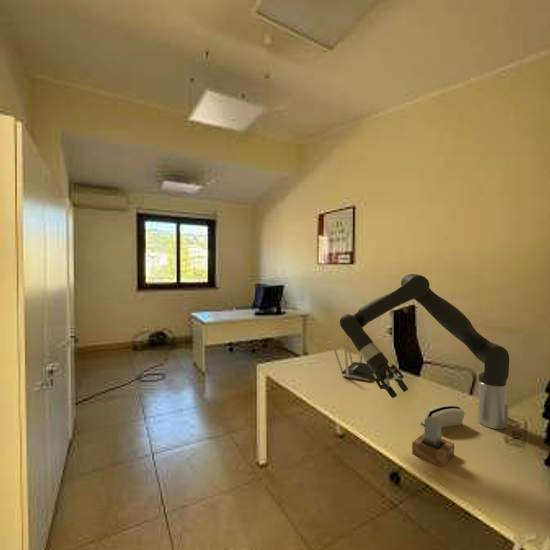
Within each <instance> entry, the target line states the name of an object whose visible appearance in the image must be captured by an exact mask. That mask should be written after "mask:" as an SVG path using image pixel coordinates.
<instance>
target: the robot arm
mask: <svg viewBox="0 0 550 550" xmlns="http://www.w3.org/2000/svg"><path fill="white" fill-rule="evenodd" d="M412 300H414V301H416V302H417V303H419V304H420V305H421V306H422V307H423V308H424V309H425V310H426V311H427V312H428V313H429V314H430V316H432V318H434V320H436V322H437V323H439V324H440V326H442V327H443V328H444V329H445V330H446V331H448V332H449V333H450V334H451V335H452V336H454V338H456V339H458V341H460V342H462V344H464V345H465V346H466V347H467V349H468V350H469V351H471V353H472V354H473V356H475V358H477V360H479V361H480V363H483V364H484V369H483V372H480V373H479V374H478V413H477V414H478V416H477V417H478V423H479V424H481V425H482V426H484V427H487V428H489V429H493V430H503V429H509V404H508V403H507V399H506V397H507V395H506V393H507V391H506V390H507V380H508V379H509V374H510V373H509V372H510V355H509V352H508V350H507V349H506V348H505V347H503V346H501V345H499V344H496V343H493V342H492V341H490V340H488V339H487V338H486V337H484V336H483V335H481V333H479V332H478V331H477V330H476V329H475V328H474V326H473V324H472V322H471V321H470V320H469V318H468V317H467V316H466V315H465V314H464V313H463V312H462V311H461V310H459V308H457V307H456V306H455V305H453V304H452V303H450V302H449V301H447V300H446V299H444V298H443V297H441V296H440V295H438V294H436V292H435V291H433V290H432V289H431V288H430V281H429V280H428V278H426V277H425V276H423V275H421V274H418V273H417V274H415V273H411V274H407V275H405V276H404V277H402V279H401V281H400V286H399V287H397V289H395V290H393V291H391V292H390V293H387V294H385V295H382V296H379V297H377V298H375V299H373V300H371V301H369V302H368V303H366V304H364V305H363V306H360V308H359V309H358V311H357V312H355V313H354V314H353V315H352V314H349V313H347V314H343V315H342V316H341V317H340V319H339V325H340V327H341V329H342V330H343V332H344V333H345V334H346V335H347V336H348V338H349V339H350V340H351V342H352V344H353V346H355V348H356V350H357V351H358V353H359V355H360V354H361V356H362V360H363V361H364V362H365V364H367V365H368V366H369V367H370V369H371V370H372V371H373V372H375V373H374V374H373V375H372V377H373V378H372V379H373V380H374V382H375V383H376V385H377V386H378V388H379V389H380V390H386V392H387V394H388V395H389V396H390V397H391V398H392V399H395V398H396V397H397V396H398V394H397V393H396V391H395V390H394V389H393V387H392V386H391V384H390V381H394V382H395V383H396V384H397V385H398V387H399V388H400V389H401V391H402V392H404V393H406V392H407V391H409V388H408V386H407V385H406V383H405V382H404V380H403V379H404V378H405V376H404V375H403V374H402V372H401V371H400V370H399V369H398V368H397V366H396V365H395V364H391V366H390V365H389V360H388V358H387V357H386V356H385V354H384V353H383V352H382V351H381V349H380V348H379V347H378V346H377V344H375V343H374V341H373V340H372V338H371V337H370V336H369V335H368V334H367V333H366V331H365V330H364V327H366V325H367V324H369V323H370V322H372V321H374V320H375V319H377V318H379V317H381V316H383V315H384V314H386V313H387V312H390V311H391V310H393V309H395V308H397V307H399V306H400V305H403V304H405V303H407V302H409V301H410V302H411V301H412Z"/></svg>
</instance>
